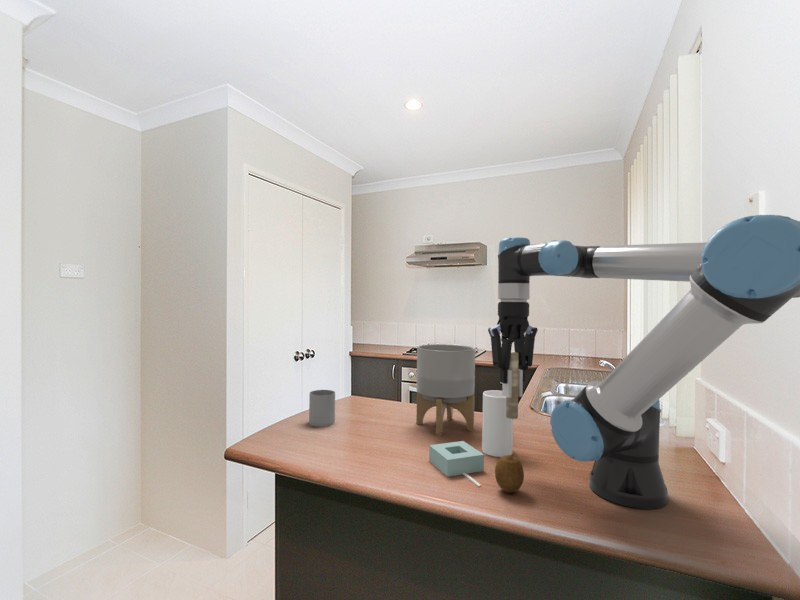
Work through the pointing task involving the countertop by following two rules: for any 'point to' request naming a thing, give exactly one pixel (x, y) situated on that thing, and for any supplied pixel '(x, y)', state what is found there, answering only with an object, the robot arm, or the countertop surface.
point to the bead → (456, 458)
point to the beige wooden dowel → (513, 388)
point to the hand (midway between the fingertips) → (512, 395)
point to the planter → (445, 382)
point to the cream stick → (472, 479)
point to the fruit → (509, 473)
